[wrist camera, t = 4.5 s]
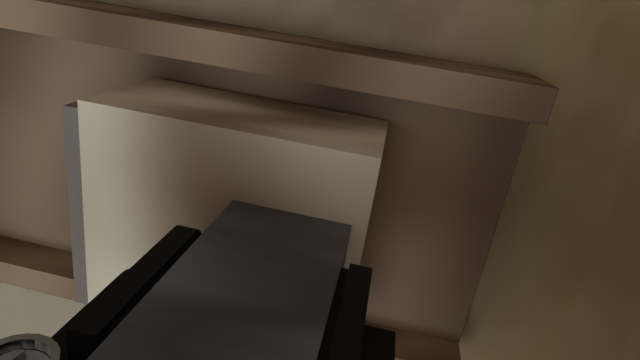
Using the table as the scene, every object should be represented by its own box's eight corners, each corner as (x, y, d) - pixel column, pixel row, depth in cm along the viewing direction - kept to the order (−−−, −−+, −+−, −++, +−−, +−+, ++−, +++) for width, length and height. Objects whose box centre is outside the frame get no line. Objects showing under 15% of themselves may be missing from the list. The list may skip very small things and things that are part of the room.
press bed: (532, 74, 15) (559, 89, 12) (449, 343, 19) (455, 395, 16) (-133, -36, 18) (-225, -44, 15) (-82, 217, 22) (-148, 245, 19)
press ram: (388, 121, 15) (326, 461, 4) (351, 300, 17) (250, 816, 6) (138, 75, 16) (-501, 233, 5) (139, 251, 18) (-272, 622, 7)
